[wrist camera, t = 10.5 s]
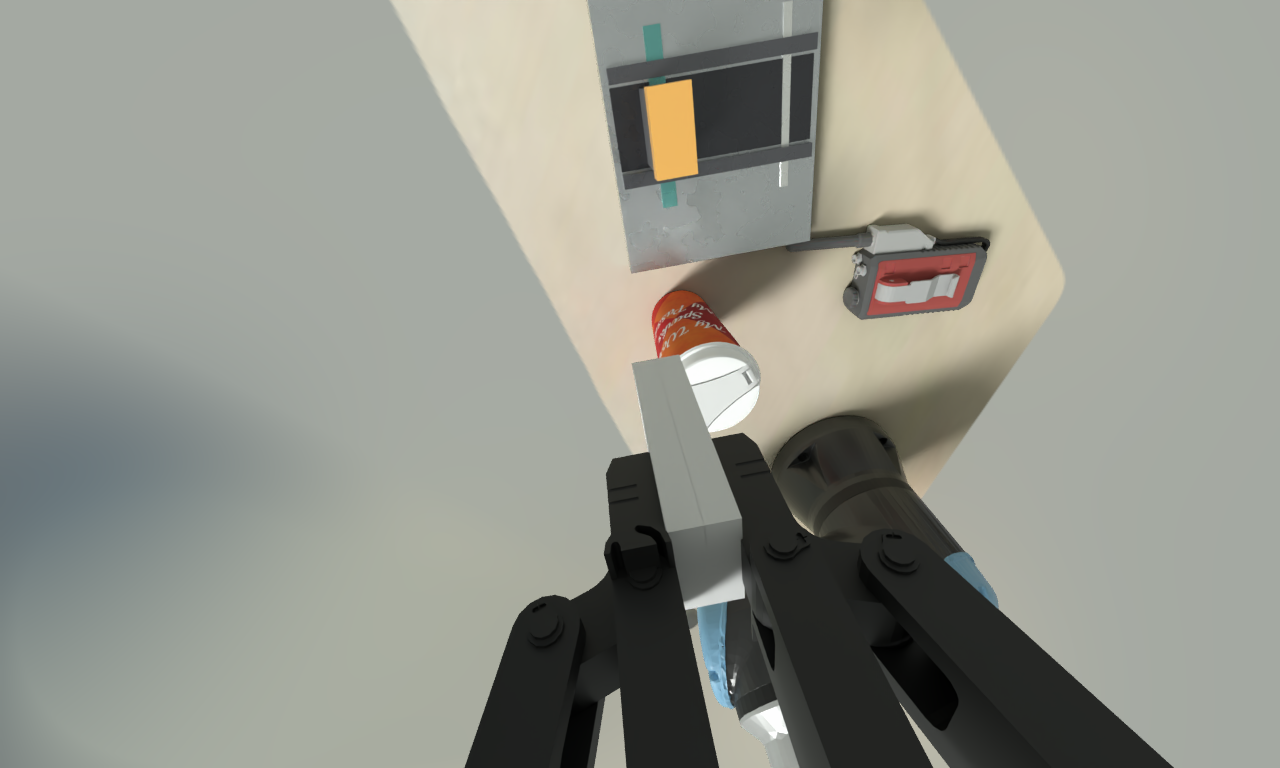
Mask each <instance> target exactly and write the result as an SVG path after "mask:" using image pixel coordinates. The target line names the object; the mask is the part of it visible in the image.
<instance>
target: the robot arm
mask: <svg viewBox="0 0 1280 768" xmlns="http://www.w3.org/2000/svg"><path fill="white" fill-rule="evenodd" d="M632 368H633V373H634V379H635V384H636V390H637V395H638V401H639V406H640V412H641V417H642V423H643V428H644V434H645V439H646V444H647V449H648V452H646V453H641V454H635V455H630V456H625V457H621V458H615V459H612V461H611V464H610V466H609V468H608V471H607V473H606V479H607V490H608V502H609V515H610V527H611V536H610V537H609V539H608V540H607V542H606V544H605V551H604V556H605V560H606V563H607V566H608V570H609V571H608V572H607V574H606V576H605V577H604V578H603V579H602V580H601V581H600V582H599V583H598V584H597V585H596V586H595V587H593V588H592V589H590V590H589V591H587V592H585V593H583V594H581V595H580V596H578V597H576V598H574V599H572V600H569V599H567V598H565V597H561V596H557V595H552V596H545V597H541V598H539V599H538V600H535V601H534V602H532V603H530V604H529V605H528V606H527V607H526V608H525V609H524V610H523V611H522V612H521V613H520V614H519V615H518V617H517V619H516V621H515V623H514V625H513V627H512V630H511V633H510V636H509V639H508V642H507V645H506V648H505V650H504V653H503V656H502V659H501V662H500V665H499V668H498V671H497V674H496V677H495V680H494V683H493V686H492V689H491V692H490V695H489V698H488V701H487V704H486V706H485V710H484V713H483V715H482V718H481V721H480V724H479V727H478V730H477V733H476V736H475V739H474V742H473V745H472V748H471V750H470V753H469V757H468V759H467V762H466V765H465V768H594V764H595V758H596V752H597V745H598V739H599V733H600V726H601V720H602V714H603V708H604V701H605V697H606V696H607V695H609V694H610V693H612V692H614V691H615V690H617V689H619V688H620V692H621V704H622V715H623V728H624V740H625V753H626V767H627V768H719V766H718V760H717V756H716V751H715V746H714V742H713V737H712V733H711V728H710V723H709V718H708V714H707V709H706V705H705V700H704V696H703V690H702V686H701V682H700V676H699V672H698V667H697V662H696V658H695V653H694V648H693V644H692V639H691V635H690V630H689V625H688V621H687V616H686V611H685V610H687V609H692V608H697V614H698V626H699V633H700V640H701V646H702V651H703V656H704V661H705V665H706V668H707V669H708V671H709V678H710V682H711V687H712V689H713V692H714V695H715V697H716V699H717V701H718V702H719V703H720V704H721V705H722V706H723V707H729V708H730V709H732V708H735V707H736V710H737V714H738V717H739V721H740V724H741V727H742V728H744V729H745V730H746V731H747V732H749V733H750V734H752V735H753V736H754V737H756V738H757V739H758V740H760V741H761V742H762V744H763V745H764V746H765V749H766V752H767V755H768V759H769V762H770V765H771V768H933V766H932V765H931V763H930V761H929V759H928V757H927V755H926V753H925V751H924V749H923V747H922V745H921V743H920V741H919V740H918V738H917V736H916V734H915V732H914V730H913V728H912V726H911V724H910V722H909V720H908V718H907V716H906V715H905V713H904V711H903V709H902V707H901V705H902V706H903V707H904V709H905V710H906V711H907V713H908V714H909V715H910V716H911V718H912V719H913V720H914V722H915V723H916V724H917V725H918V727H919V728H920V729H921V731H922V732H923V733H924V734H925V736H926V737H927V739H928V740H929V741H930V742H931V744H932V745H933V746H934V748H935V749H936V750H937V751H938V753H939V754H940V755H941V757H942V758H943V759H944V760H945V762H946V763H947V764H948V766H949V767H950V768H1174V767H1172V766H1171V765H1170V764H1169V763H1168V762H1167V761H1166V760H1165V759H1164V758H1162V757H1161V756H1160V755H1159V754H1158V753H1157V752H1156V751H1155V750H1154V749H1153V748H1151V747H1150V746H1149V745H1148V744H1147V743H1146V742H1145V741H1143V740H1142V739H1141V738H1140V737H1139V736H1138V735H1137V734H1136V733H1135V732H1134V731H1133V730H1131V729H1130V728H1129V727H1128V726H1127V725H1126V724H1125V723H1124V722H1123V721H1121V720H1120V719H1119V718H1118V717H1117V716H1116V715H1115V714H1114V713H1113V712H1112V711H1110V710H1109V709H1108V708H1107V707H1106V706H1105V705H1104V704H1103V703H1102V702H1101V701H1099V700H1098V699H1097V698H1096V697H1095V696H1094V695H1093V694H1092V693H1091V692H1089V691H1088V690H1087V689H1086V688H1085V687H1084V686H1083V685H1082V684H1081V683H1079V682H1078V681H1077V680H1076V679H1075V678H1074V677H1073V676H1072V675H1071V674H1069V673H1068V672H1067V671H1066V670H1065V669H1064V668H1063V667H1062V666H1061V665H1060V664H1058V663H1057V662H1056V661H1055V660H1054V659H1053V658H1052V657H1051V656H1050V655H1048V654H1047V653H1046V652H1045V651H1044V650H1043V649H1042V648H1041V647H1040V646H1039V645H1037V644H1036V643H1035V642H1034V641H1033V640H1032V639H1031V638H1030V637H1029V636H1028V635H1026V634H1025V633H1024V632H1023V631H1022V630H1021V629H1020V628H1019V627H1018V626H1016V625H1015V624H1014V623H1013V622H1012V621H1011V620H1010V619H1009V618H1008V617H1006V616H1005V615H1004V614H1003V613H1002V612H1001V611H1000V610H999V609H998V600H997V596H996V594H995V592H994V590H993V589H992V588H991V586H990V585H989V583H988V582H987V581H986V579H985V578H984V576H983V575H982V574H981V572H980V571H979V570H978V569H977V567H976V566H975V563H974V560H973V558H972V557H971V556H970V555H969V554H968V553H966V552H965V551H964V550H963V549H962V548H961V546H960V545H959V544H958V543H957V542H956V540H955V539H954V538H953V537H952V536H951V534H950V533H949V532H948V531H947V530H946V529H945V527H944V526H943V525H942V524H941V523H940V521H939V520H938V519H937V518H936V517H935V515H934V514H933V513H932V512H931V511H930V510H929V508H928V507H927V506H926V505H925V504H924V502H923V501H922V500H921V499H920V498H919V496H918V495H917V494H916V493H915V492H914V491H913V489H912V488H911V487H910V486H909V484H908V482H907V479H906V476H905V473H904V470H903V467H902V464H901V461H900V458H899V455H898V452H897V449H896V447H895V445H894V443H893V441H892V440H891V438H890V437H889V436H888V435H887V434H886V433H885V431H884V430H883V429H882V428H881V427H880V426H879V425H878V424H876V423H875V422H873V421H871V420H869V419H866V418H863V417H857V416H840V417H834V418H829V419H826V420H823V421H820V422H817V423H815V424H813V425H811V426H809V427H807V428H805V429H804V430H802V431H801V432H799V433H798V434H796V435H795V436H794V437H793V438H791V439H790V440H789V441H788V442H787V443H786V444H785V446H784V447H783V448H782V449H781V451H780V452H779V454H778V455H777V457H776V459H775V461H774V464H773V467H772V473H770V469H769V467H768V465H767V463H766V461H764V457H763V455H762V453H761V451H760V449H759V447H758V445H757V444H756V443H755V442H754V441H752V440H751V439H750V438H749V437H747V436H746V435H745V434H744V433H739V434H734V435H728V436H723V437H718V438H713V439H711V436H710V434H709V431H708V428H707V426H706V423H705V421H704V418H703V415H702V413H701V410H700V408H699V405H698V402H697V400H696V397H695V395H694V392H693V389H692V387H691V384H690V382H689V379H688V376H687V374H686V371H685V369H684V366H683V363H682V361H681V358H680V356H679V355H673V356H668V357H663V358H657V359H652V360H647V361H641V362H636V363H632ZM792 514H793V515H795V516H796V517H797V518H798V519H799V520H800V521H801V522H802V523H803V524H804V525H805V526H806V527H808V528H809V529H810V530H811V531H812V532H813V533H814V535H813V534H811V533H809V532H808V531H807V530H806V529H804V528H803V527H801V526H800V525H799V524H798V523H797V521H796V520H795V518H794V517H793V515H792ZM899 702H900V703H901V705H900V703H899Z"/></svg>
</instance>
